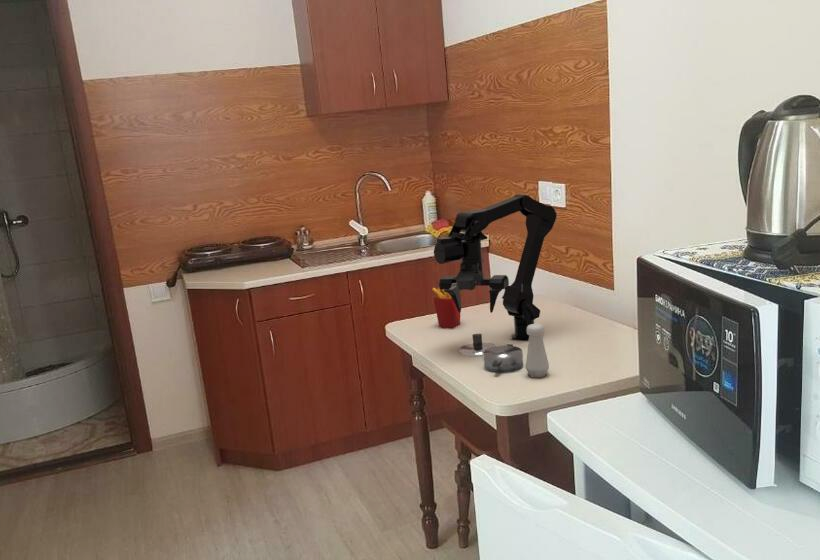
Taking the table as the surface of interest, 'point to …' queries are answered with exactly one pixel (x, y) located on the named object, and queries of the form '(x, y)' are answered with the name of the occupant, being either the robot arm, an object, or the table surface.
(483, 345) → the lid
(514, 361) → the pot
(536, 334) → the salt shaker
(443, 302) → the french fries
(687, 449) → the table surface
